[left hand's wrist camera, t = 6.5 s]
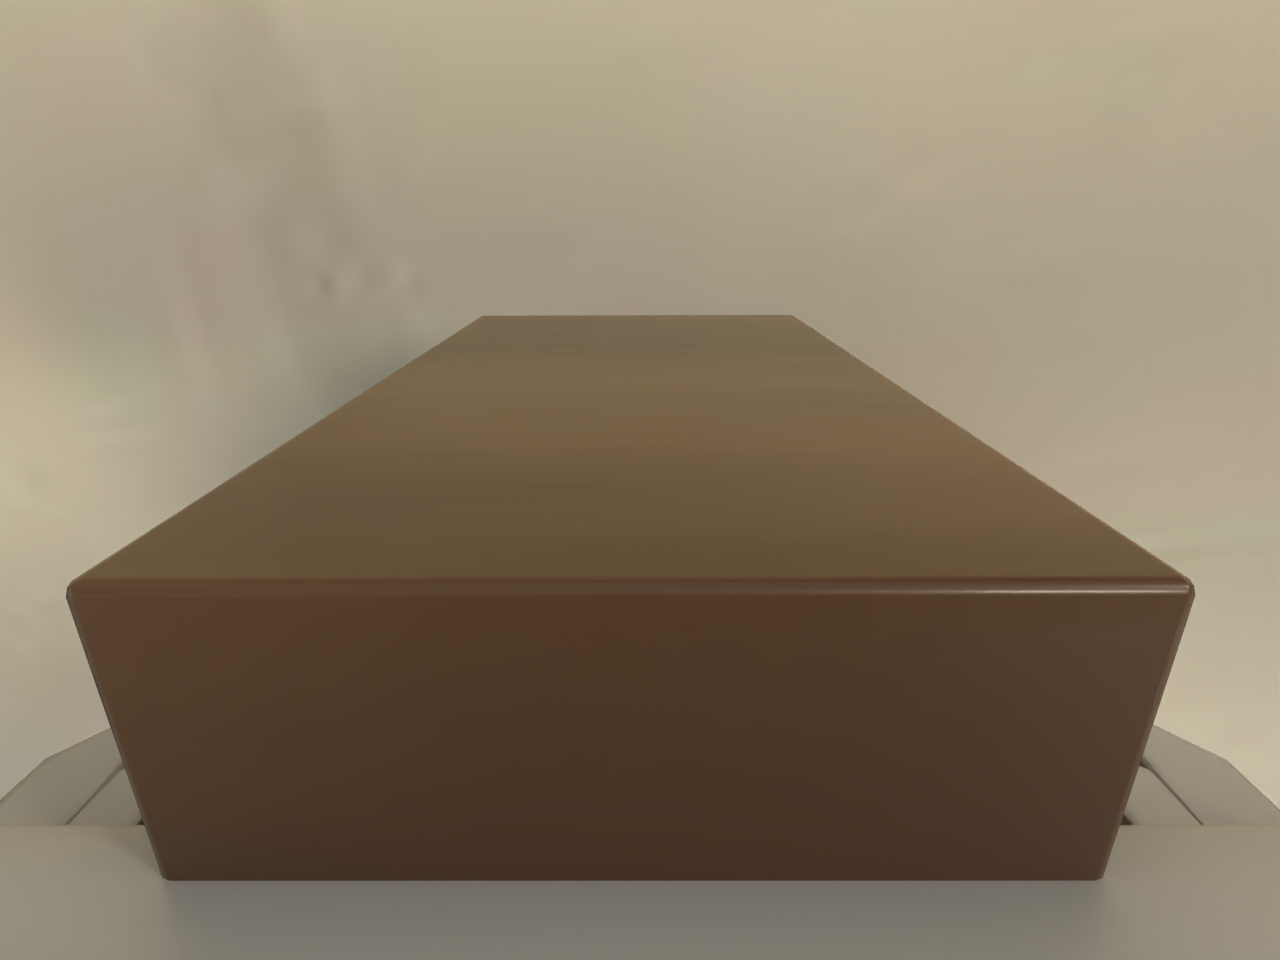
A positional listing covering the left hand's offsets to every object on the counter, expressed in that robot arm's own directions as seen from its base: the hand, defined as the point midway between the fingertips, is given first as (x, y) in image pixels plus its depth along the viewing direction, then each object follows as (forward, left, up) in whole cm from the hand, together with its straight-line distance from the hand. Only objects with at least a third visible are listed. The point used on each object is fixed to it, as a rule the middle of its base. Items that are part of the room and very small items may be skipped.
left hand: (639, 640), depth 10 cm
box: (+10, +2, -5) cm, 11 cm away
